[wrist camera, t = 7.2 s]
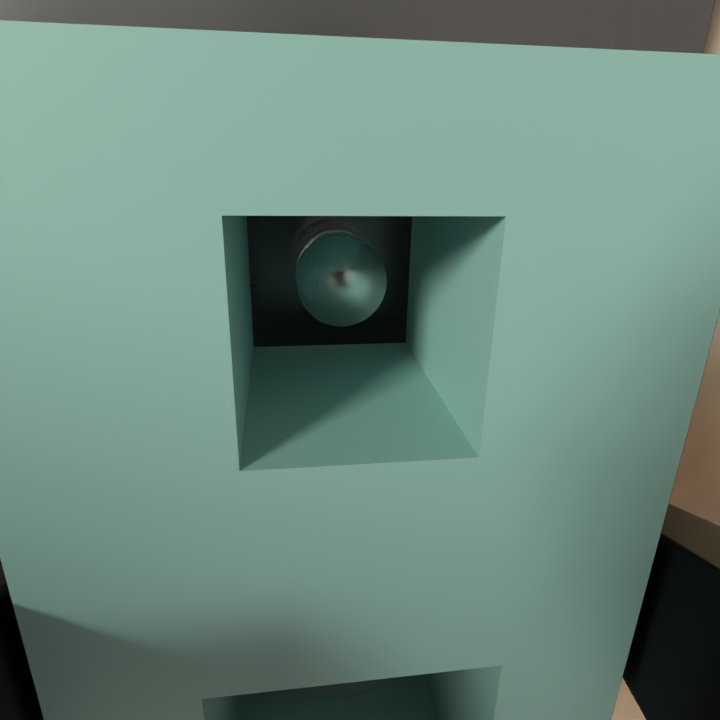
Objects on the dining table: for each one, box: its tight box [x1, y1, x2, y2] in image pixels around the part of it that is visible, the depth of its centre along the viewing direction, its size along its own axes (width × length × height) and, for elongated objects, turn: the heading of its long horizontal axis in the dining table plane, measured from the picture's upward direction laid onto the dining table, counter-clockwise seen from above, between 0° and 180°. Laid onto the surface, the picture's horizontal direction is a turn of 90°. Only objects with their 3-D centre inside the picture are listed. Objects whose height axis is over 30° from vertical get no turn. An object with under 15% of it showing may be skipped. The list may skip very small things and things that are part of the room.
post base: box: [0, 0, 715, 697], centre depth 10 cm, size 12×18×4 cm, turn 179°
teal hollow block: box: [0, 20, 720, 720], centre depth 8 cm, size 12×7×4 cm, turn 179°
